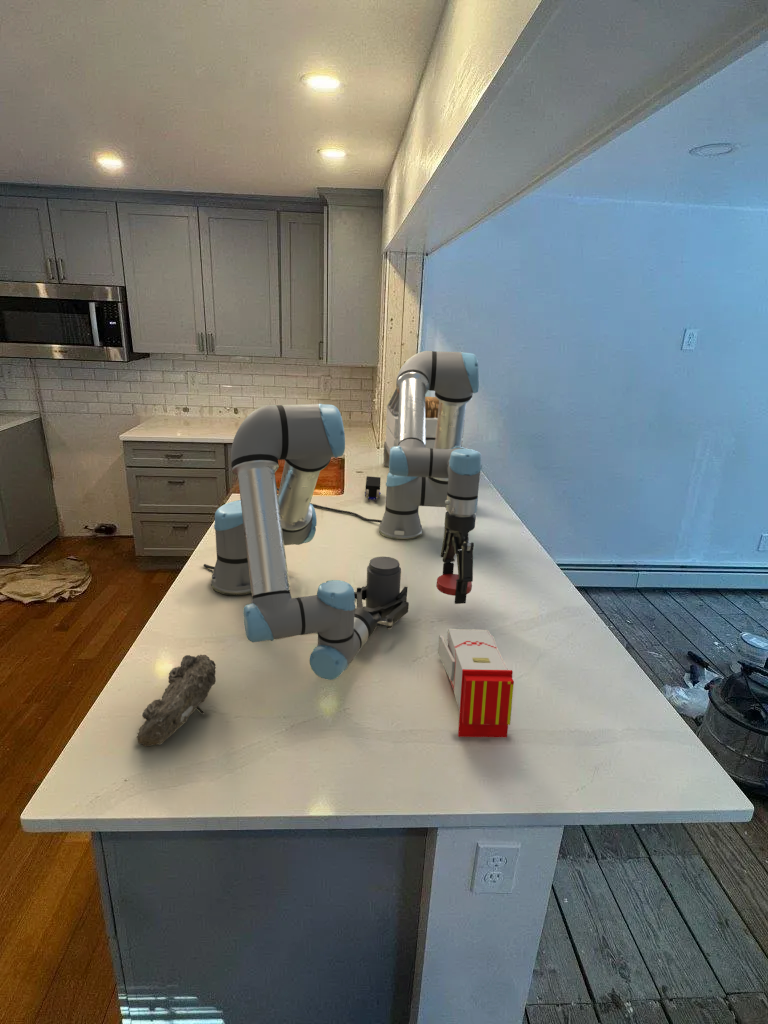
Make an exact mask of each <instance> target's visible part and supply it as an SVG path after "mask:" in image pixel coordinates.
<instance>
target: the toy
mask: <svg viewBox="0 0 768 1024" xmlns="http://www.w3.org/2000/svg"><path fill="white" fill-rule="evenodd" d="M446 640H447V643H446V641H445V639H444V636H443V635H442V634H439V637H438V646H437V656H438V657H439V659H440V661H441V663H442V666H443V668H444V670H445V672H446V674H447V677H448V679H449V681H450V684H451V687H452V690H453V693H454V697H455V701H456V705H457V708H458V711H459V714H458V715H459V716H458V730H457V731H458V732H457V737H458V738H508V731H509V726H510V725H511V717H512V707H513V697H514V696H513V695H514V684H515V680H514V679H513V673H514V671H513V670H512V669H508V667H507V665H506V662H505V661H504V659H503V658H502V655H501V653H500V651H499V649H498V647H497V643H496V639H495V637H494V635H493V634H491V632H490V631H489V629H467V628H466V629H465V628H463V629H461V628H460V629H459V628H448V630H447V639H446Z"/></svg>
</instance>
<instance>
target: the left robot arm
mask: <svg viewBox="0 0 768 1024" xmlns="http://www.w3.org/2000/svg"><path fill="white" fill-rule="evenodd" d="M343 421H344V420H343V417H342V414H341V412H340V410H339V408H338V407H337V406H336V405H334V404H327V403H325V404H324V403H307V404H278V405H277V404H267V405H262V406H260V407H258V408H257V409H254V410H253V411H252V412H251V413H249V414H248V415H247V416H246V417H245V418H244V419H243V421H242V422H241V424H240V425H239V427H238V429H237V431H236V432H235V434H234V437H233V441H232V444H231V449H230V465H231V473H232V474H234V475H235V476H236V477H237V481H238V489H239V500H234V501H229V502H226V503H224V504H223V505H221V506H219V507H218V508H217V509H216V511H215V513H214V525H213V528H214V531H215V549H216V562H215V564H214V566H213V565H208V564H206V563H204V564H203V567H204V568H207V569H209V570H213V572H212V575H211V588H212V589H213V590H214V591H215V592H217V593H219V594H222V595H226V596H245V595H250V594H251V597H252V598H251V599H252V601H251V602H250V603H248V604H245V605H244V607H243V609H242V614H243V627H244V633H245V637H246V639H247V640H248V641H249V642H251V643H260V642H267V641H268V642H269V641H270V642H273V641H275V640H281V639H285V638H292V637H297V636H304V635H312V634H317V644H316V646H315V647H314V648H313V650H312V652H311V654H310V655H309V660H308V662H309V666H310V668H311V671H312V672H313V673H314V674H315V675H316V676H317V677H319V678H320V679H323V680H327V681H333V680H336V679H337V678H339V677H340V676H341V675H342V674H343V672H345V671H346V670H347V669H348V667H349V666H350V664H351V663H352V661H353V660H354V659H355V658H356V657H357V655H358V653H359V652H360V650H361V649H362V648H363V647H364V645H365V644H366V643H367V641H368V640H369V639H370V638H371V636H372V635H373V634H374V632H375V630H376V628H378V627H380V626H386V629H388V630H391V629H392V628H393V627H394V625H395V623H397V622H398V621H399V620H401V619H402V618H403V617H404V616H405V615H407V614H408V613H409V609H410V608H409V607H410V603H409V601H408V591H409V590H408V589H409V588H408V586H404V587H403V588H402V590H400V594H399V595H398V596H397V597H396V601H394V602H392V603H389V604H387V605H385V606H382V607H380V606H378V607H376V608H368V607H366V605H364V604H363V602H364V601H366V587H367V584H365V586H361V587H360V586H359V587H356V591H355V589H354V587H353V585H351V584H350V583H349V582H347V581H345V580H339V579H330V580H327V581H325V582H322V583H320V585H318V587H317V591H316V594H312V595H305V596H299V597H298V596H297V597H292V595H291V587H290V579H289V571H288V564H287V556H286V549H285V546H292V545H297V546H300V545H302V544H307V543H310V542H311V541H312V540H313V539H314V537H315V535H316V532H317V528H316V526H317V513H316V510H315V509H316V508H315V507H314V506H313V505H312V504H313V503H312V504H310V503H311V502H312V498H313V496H314V493H315V489H316V486H317V484H318V483H317V482H318V480H319V477H320V473H321V471H322V470H324V469H325V468H327V466H328V465H329V464H330V463H331V459H332V458H335V459H337V458H339V457H343V456H344V454H345V451H346V435H345V427H344V422H343ZM282 460H284V465H283V471H282V474H281V479H280V484H279V488H278V487H277V480H276V479H277V478H276V472H277V471H278V470H279V468H280V465H279V461H282ZM277 488H278V489H279V491H278V490H277ZM385 617H386V618H385ZM383 618H384V619H383ZM381 624H382V625H381Z"/></svg>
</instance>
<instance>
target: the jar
mask: <svg viewBox="0 0 768 1024" xmlns="http://www.w3.org/2000/svg"><path fill="white" fill-rule="evenodd" d="M401 577H402V568H401V565H400V561H399V560H398V559H397V558H394V557H391V556H376V557H373V558H371V559H370V560H369V562H368V565H367V567H366V585H367V587H366V599H365V607H368V608H376V607H378V606H380V607H382V606H385V605H387V604H389V603H392V602H394V601H396V597H397V596H398V595H399V594H400V592H401ZM385 618H386V617H385ZM383 619H384V618H383ZM380 626H383V625H382V624H381V625H380Z"/></svg>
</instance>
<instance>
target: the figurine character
mask: <svg viewBox="0 0 768 1024" xmlns="http://www.w3.org/2000/svg"><path fill="white" fill-rule="evenodd" d="M364 490H365V491H364V498H365V499H367V502H370V501H371V500H374V502H375V503H376V502H377V501H378V500H377V499H380V495H381V476H368V475H367V476H366V479H365V489H364Z"/></svg>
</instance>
